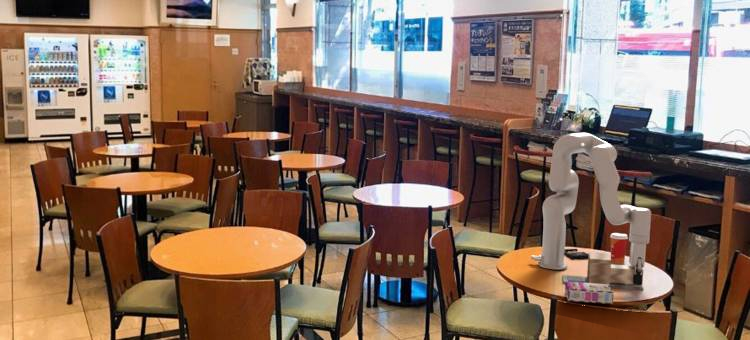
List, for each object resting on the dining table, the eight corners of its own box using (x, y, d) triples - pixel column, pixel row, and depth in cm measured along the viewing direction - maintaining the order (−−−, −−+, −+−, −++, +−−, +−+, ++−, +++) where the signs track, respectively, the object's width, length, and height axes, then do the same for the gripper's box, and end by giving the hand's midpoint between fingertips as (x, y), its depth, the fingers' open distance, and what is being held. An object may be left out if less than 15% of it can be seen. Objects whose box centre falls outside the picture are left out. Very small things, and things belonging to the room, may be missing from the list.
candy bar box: (567, 302, 267) (613, 304, 265) (568, 289, 267) (613, 291, 264) (564, 293, 278) (608, 296, 276) (565, 281, 278) (609, 283, 275)
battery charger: (590, 263, 327) (591, 255, 327) (572, 264, 325) (572, 256, 324) (576, 256, 340) (576, 248, 339) (558, 257, 337) (558, 249, 337)
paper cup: (611, 261, 330) (613, 232, 328) (628, 264, 326) (630, 234, 324) (606, 264, 324) (607, 234, 322) (623, 267, 319) (625, 237, 318)
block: (600, 281, 290) (601, 267, 289) (599, 277, 296) (600, 263, 295) (642, 284, 287) (643, 270, 286) (640, 280, 292) (641, 266, 292)
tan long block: (563, 284, 291) (564, 256, 289) (562, 276, 302) (563, 250, 301) (643, 290, 284) (645, 262, 282) (639, 282, 295) (641, 255, 294)
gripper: (627, 233, 297) (624, 275, 299) (632, 242, 280) (628, 286, 282) (646, 234, 295) (643, 277, 297) (652, 243, 278) (649, 288, 281)
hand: (636, 281), depth 290 cm, fingers closed on block, 6 cm apart
